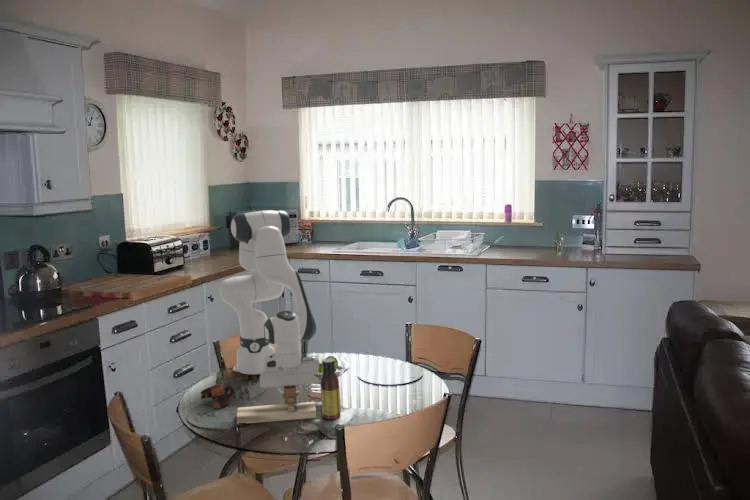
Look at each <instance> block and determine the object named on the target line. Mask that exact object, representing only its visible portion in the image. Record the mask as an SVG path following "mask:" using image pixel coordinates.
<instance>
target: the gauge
mask: <svg viewBox="0 0 750 500" xmlns="http://www.w3.org/2000/svg"><path fill="white" fill-rule="evenodd" d="M296 387H297V385H292V386H283V392H284V397H285V398H284V404H288V412H294V403H298V402H297V397H296V391H297V388H296Z"/></svg>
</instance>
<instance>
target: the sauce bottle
mask: <svg viewBox="0 0 750 500" xmlns="http://www.w3.org/2000/svg"><path fill="white" fill-rule="evenodd" d="M321 363H322V364H321V365H322V369H323V371H322V372H323V373H322V375H321V376H322V377H321V381H320V398H321V399H320V400H321V402H320V403H321V413H322V417H323V418H324V419H328V420H335V419H339V417H341V411H342V410H341V393H340V389H341V388H340V384H339V382H340V381H339V380H340V379H339V377H338V375H337V374H336V373H335V372H336V371H335V370H336V369H335V359H334V358H331V357H330V358H324V359H322V361H321Z"/></svg>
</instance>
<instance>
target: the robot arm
mask: <svg viewBox="0 0 750 500" xmlns="http://www.w3.org/2000/svg"><path fill="white" fill-rule="evenodd" d="M290 218H291V217H290V215H289V214H288V212H287V211H285V210H280V209H275V210H268V209H267V210H258V211H250V212H246V213H245V212H239V213H237V214H234V215H233V216H232V218H231V222H230V230H231V231H230V232H231V233H232V237H233V239H234V240H236V241H238V242H239V248H238V250H239V251H238V252H239V253H238V262H239V265H240V266H241V268H243V269H244V270H246V271H248V272H251V273H252V274H249V275H248V274H247V275H241V276H239V275H238V276H233V277H229V278H226V279H223V280H222V282H221V283H220V285H219V291H218V292H219V297H220V298H221V300H222V302H224V303H225V304H226V305H228V306H230V307H231V308H232V309H233V310H234V311H235V314H236V315H237V318H238V321H239V331H240V336H239V346H240V347H239V348H238V349H237V350H236V363H235V365H234V366H233V367H232V371H233V372H237V373H240V374H244V375H260V376H259V379H260V380H259V385H260V387H262V388H263V389H264V388H275V387H276V391H277V392H278V393H279V394H280V395H279V397H280V399H285V397H284V391H282V388H281V387H284V386H292V385H296V386H298V387H299V388H298V390H296V398H300V397H301V392H302V390H303V389H304V385H317V384H318V383H319V381H320V377H319V378H317V377H316V376H314V374H317V373H318V374H319V370H318V369H319V368H320V361H319V359H318V358H316V357H314V356H311V357H302V347H301V344H300V342H306V341H307V342H308V341H310V340H312V338H313V337H314V336H315V334H316V333H317V324H316V321H315V318H314V315H313V313H312V310H311V308H310V304H309V301H308V297H307V294H306V291H305V287H304V285H303V282H302V279H301V275H300V273H299V272H298V270H297V269H295V268H293V267H292V266H291V264H290V262H289V260H288V256H287V250H286V248H287V247H286V244H285V241H284V238H285V237H287V236H289V234H290V233H291V227H292V222H291V219H290ZM285 287H286V288H287V289H288V290H289V291H290V292H291V294H292V298H293V302H294V304H295V307H296V308H295V309H296V311H297V313H296V312H294V311H291V310H281V311H278V312H277V313H276V314H275V316H272V317H269V318H268V316H267V314H266V313H265V312H264V311H262V310H259V309H257V308H254V307H253V303H258V302H265V301H271V300H275V299H277V298H280V297H281V296H282V294H283V293H284V291H285V290H284V289H285ZM272 345H275V349H274V347H273V346H272Z"/></svg>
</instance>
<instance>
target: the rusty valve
mask: <svg viewBox="0 0 750 500" xmlns="http://www.w3.org/2000/svg"><path fill="white" fill-rule="evenodd" d="M229 391H230V393H228V392H229ZM235 393H236V389H235V387H234V386H233V385H227V386H224V387H223V386H222V385H221V383H217V384H214V385H211V386H209V387H207V388H205V389H203V390H201V391H200V395H201V396H200V400H201V401H203V400H204V399H209V398H211V399H212V401H215V400H217V401H216V402H213V403H212V406H213V408H214V409H215V408H218V409H220V408H223V407H226V405H227V404H228V405H229V402H230V401H231V398H233V397H234V395H235ZM228 405H227V406H228Z"/></svg>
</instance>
